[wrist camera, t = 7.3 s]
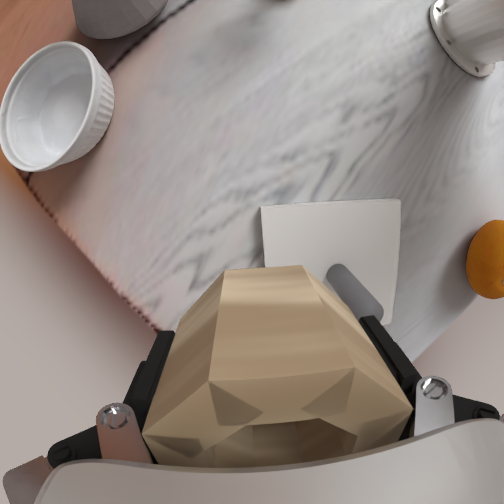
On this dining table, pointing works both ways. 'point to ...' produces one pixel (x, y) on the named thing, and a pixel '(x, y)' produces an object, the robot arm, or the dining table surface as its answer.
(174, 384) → the bead
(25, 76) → the ramekin
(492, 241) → the fruit
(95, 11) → the coffee pot
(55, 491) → the robot arm
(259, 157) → the dining table surface
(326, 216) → the post board
